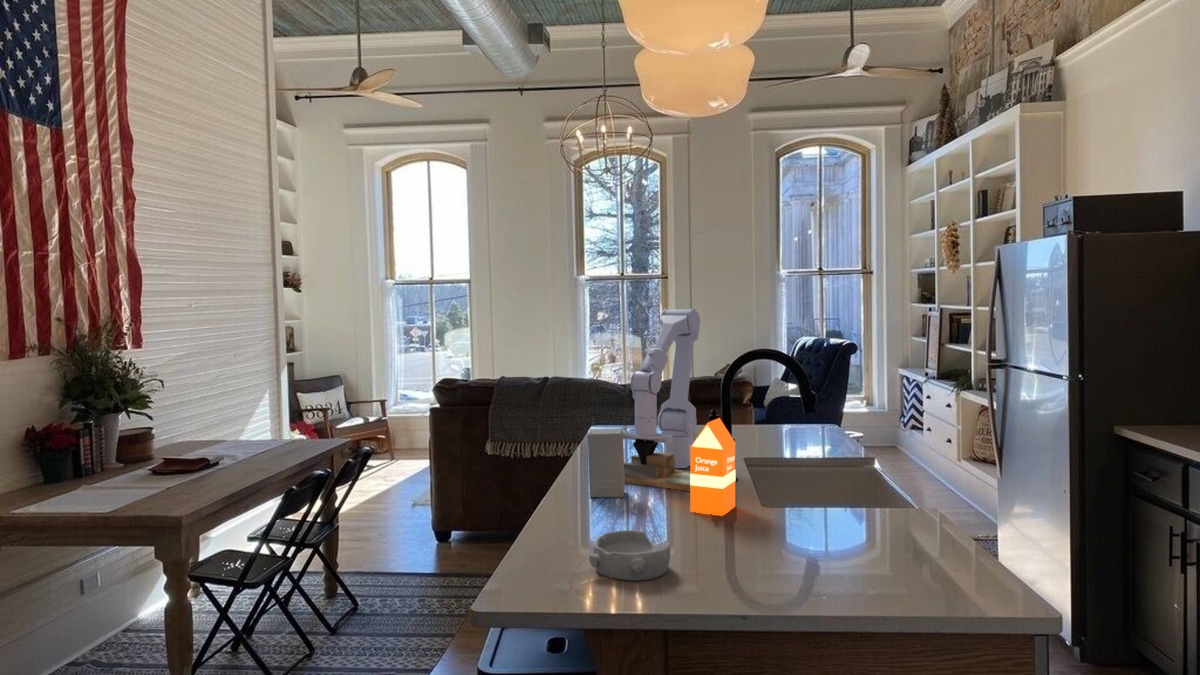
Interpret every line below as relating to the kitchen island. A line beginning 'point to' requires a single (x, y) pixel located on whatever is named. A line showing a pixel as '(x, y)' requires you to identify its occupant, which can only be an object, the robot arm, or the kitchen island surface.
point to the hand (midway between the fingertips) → (645, 468)
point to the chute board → (658, 481)
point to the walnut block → (662, 463)
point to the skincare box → (606, 462)
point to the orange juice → (712, 470)
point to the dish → (629, 556)
